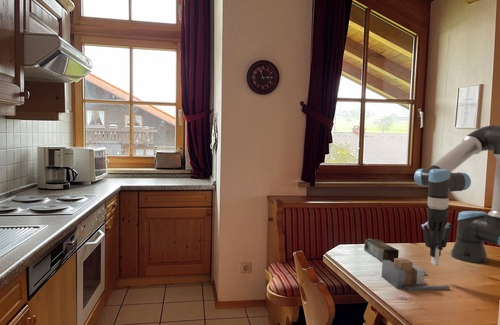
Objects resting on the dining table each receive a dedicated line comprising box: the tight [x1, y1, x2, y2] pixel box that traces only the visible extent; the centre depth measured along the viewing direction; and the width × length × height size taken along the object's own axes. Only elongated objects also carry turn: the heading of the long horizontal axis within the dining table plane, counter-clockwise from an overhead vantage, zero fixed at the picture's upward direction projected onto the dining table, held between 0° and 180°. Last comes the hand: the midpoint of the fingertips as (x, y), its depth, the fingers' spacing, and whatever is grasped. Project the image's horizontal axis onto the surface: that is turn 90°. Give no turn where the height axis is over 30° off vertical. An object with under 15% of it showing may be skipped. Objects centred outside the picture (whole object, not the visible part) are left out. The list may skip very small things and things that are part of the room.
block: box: [393, 257, 414, 286], centre depth 150 cm, size 5×5×9 cm
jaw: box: [410, 263, 426, 286], centre depth 151 cm, size 3×12×7 cm, turn 8°
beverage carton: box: [363, 238, 400, 263], centre depth 182 cm, size 8×19×7 cm, turn 10°
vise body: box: [381, 260, 451, 292], centre depth 151 cm, size 20×16×7 cm
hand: (434, 264), depth 154 cm, fingers closed
